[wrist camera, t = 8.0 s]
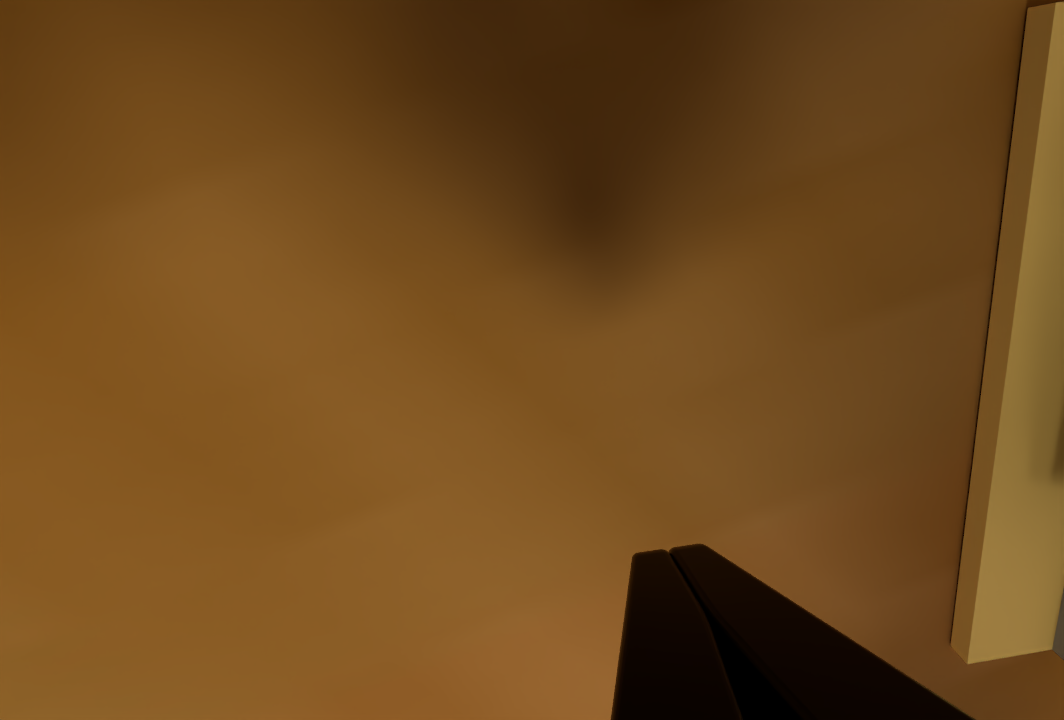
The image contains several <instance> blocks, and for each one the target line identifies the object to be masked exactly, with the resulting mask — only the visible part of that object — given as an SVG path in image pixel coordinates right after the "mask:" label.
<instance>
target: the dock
mask: <svg viewBox="0 0 1064 720" xmlns="http://www.w3.org/2000/svg"><path fill="white" fill-rule="evenodd" d="M951 647H952V648H953V649H954V650H955V652H956V653H957V654H958V655H959V656H960V657H961V658H962V659H963V660H964V661H965V662H966V664H972V663H978V662H983V661H989V660H995V659H1001V658H1006V657H1012V656H1018V655H1023V654H1029V653H1035V652H1041V651H1046V650H1053V651H1054V652H1055V653H1057V654H1058V655H1059V656H1060V657H1061V658H1062V659H1063V660H1064V2H1056V3H1051V4H1045V5H1040V6H1035V7H1030V8H1028V10H1027V18H1026V27H1025V35H1024V43H1023V51H1022V60H1021V68H1020V76H1019V84H1018V93H1017V101H1016V109H1015V117H1014V126H1013V134H1012V142H1011V151H1010V159H1009V167H1008V175H1007V184H1006V192H1005V200H1004V208H1003V217H1002V225H1001V233H1000V241H999V250H998V258H997V266H996V274H995V283H994V291H993V299H992V307H991V316H990V324H989V332H988V341H987V349H986V357H985V365H984V374H983V382H982V390H981V398H980V407H979V415H978V423H977V431H976V440H975V448H974V456H973V464H972V473H971V481H970V489H969V498H968V506H967V514H966V522H965V531H964V539H963V547H962V555H961V564H960V572H959V580H958V588H957V597H956V605H955V613H954V621H953V630H952V638H951Z"/></svg>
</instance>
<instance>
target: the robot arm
mask: <svg viewBox="0 0 1064 720" xmlns="http://www.w3.org/2000/svg"><path fill="white" fill-rule="evenodd" d="M611 720H975V719H974V718H972V717H971V716H969V715H968V714H966V713H965V712H963V711H962V710H960V709H958V708H957V707H955V706H954V705H952V704H951V703H949V702H948V701H946V700H945V699H943V698H941V697H940V696H938V695H937V694H935V693H934V692H932V691H931V690H929V689H927V688H926V687H924V686H923V685H921V684H920V683H918V682H917V681H915V680H914V679H912V678H910V677H909V676H907V675H906V674H904V673H903V672H901V671H900V670H898V669H896V668H895V667H893V666H892V665H890V664H889V663H887V662H886V661H884V660H883V659H881V658H879V657H878V656H876V655H875V654H873V653H872V652H870V651H869V650H867V649H866V648H864V647H862V646H861V645H859V644H858V643H856V642H855V641H853V640H852V639H850V638H848V637H847V636H845V635H844V634H842V633H841V632H839V631H838V630H836V629H835V628H833V627H831V626H830V625H828V624H827V623H825V622H824V621H822V620H821V619H819V618H817V617H816V616H814V615H813V614H811V613H810V612H808V611H807V610H805V609H804V608H802V607H800V606H799V605H797V604H796V603H794V602H793V601H791V600H790V599H788V598H787V597H785V596H783V595H782V594H780V593H779V592H777V591H776V590H774V589H773V588H771V587H769V586H768V585H766V584H765V583H763V582H762V581H760V580H759V579H757V578H756V577H754V576H752V575H751V574H749V573H748V572H746V571H745V570H743V569H742V568H740V567H738V566H737V565H735V564H734V563H732V562H731V561H729V560H728V559H726V558H725V557H723V556H721V555H720V554H718V553H717V552H715V551H714V550H712V549H711V548H709V547H708V546H706V545H703V544H693V545H686V546H680V547H673V548H671V549H670V550H669V552H668V551H666V550H663V549H659V550H653V551H646V552H639V553H636V554H634V555H633V557H632V563H631V570H630V578H629V585H628V593H627V601H626V608H625V616H624V623H623V631H622V639H621V646H620V654H619V661H618V669H617V677H616V684H615V692H614V699H613V707H612V715H611Z"/></svg>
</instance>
